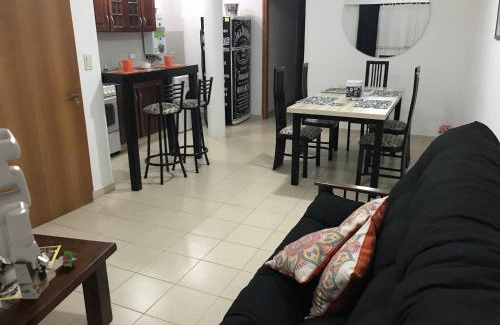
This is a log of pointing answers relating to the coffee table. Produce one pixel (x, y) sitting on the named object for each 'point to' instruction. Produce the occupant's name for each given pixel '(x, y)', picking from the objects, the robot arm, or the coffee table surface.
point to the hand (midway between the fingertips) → (32, 277)
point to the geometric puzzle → (67, 258)
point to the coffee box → (29, 280)
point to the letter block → (50, 272)
